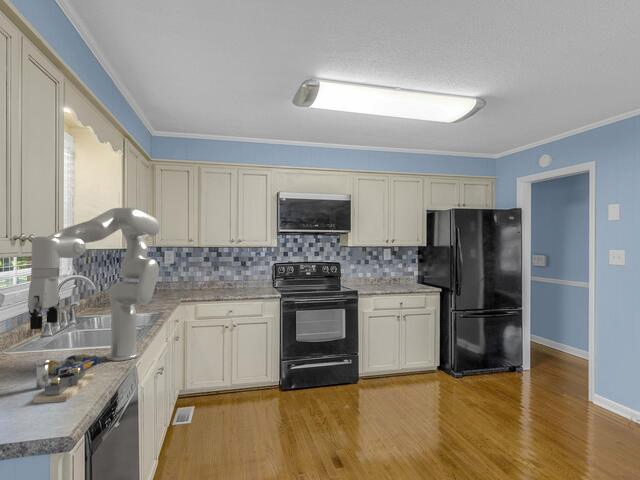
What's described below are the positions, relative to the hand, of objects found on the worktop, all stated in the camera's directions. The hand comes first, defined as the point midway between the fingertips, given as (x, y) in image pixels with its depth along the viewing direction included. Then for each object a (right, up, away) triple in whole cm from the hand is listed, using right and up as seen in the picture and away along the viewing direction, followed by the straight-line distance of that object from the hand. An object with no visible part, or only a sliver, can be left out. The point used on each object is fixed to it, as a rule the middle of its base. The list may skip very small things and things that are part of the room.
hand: (44, 325), depth 123 cm
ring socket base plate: (+8, -21, -1) cm, 22 cm away
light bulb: (-1, -21, 0) cm, 21 cm away
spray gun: (-4, -22, +19) cm, 29 cm away
